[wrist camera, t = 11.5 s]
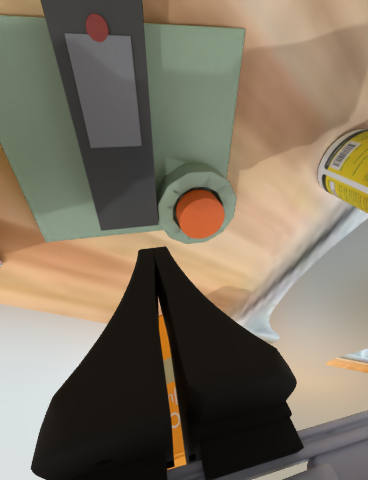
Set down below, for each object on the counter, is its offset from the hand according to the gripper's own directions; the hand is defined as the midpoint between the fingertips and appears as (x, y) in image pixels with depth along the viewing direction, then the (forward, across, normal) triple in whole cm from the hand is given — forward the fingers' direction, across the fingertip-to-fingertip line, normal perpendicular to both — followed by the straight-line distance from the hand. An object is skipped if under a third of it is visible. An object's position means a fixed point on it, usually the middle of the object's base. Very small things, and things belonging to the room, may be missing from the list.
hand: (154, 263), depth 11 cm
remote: (+9, +1, -5) cm, 10 cm away
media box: (+10, +1, -3) cm, 11 cm away
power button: (+7, -4, +1) cm, 8 cm away
